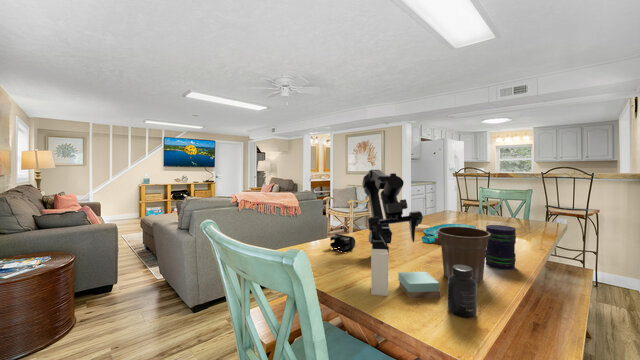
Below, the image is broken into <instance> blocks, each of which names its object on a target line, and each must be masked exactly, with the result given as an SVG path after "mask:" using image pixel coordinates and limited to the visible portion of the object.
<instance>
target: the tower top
mask: <svg viewBox="0 0 640 360" xmlns="http://www.w3.org/2000/svg"><path fill="white" fill-rule="evenodd" d="M397 277H398V281H400V282H401V284H402V285H403V286H404V287H405V288H406V289H407V290H408V291H409V292H432V291H440V282H439V281H438V280H436V279H435V278H434V277H433V276H432V275H430V274H429V273H428V272H427V271H405V272H404V271H403V272H401V271H399V272H398V276H397Z"/></svg>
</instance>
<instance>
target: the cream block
mask: <svg viewBox="0 0 640 360" xmlns="http://www.w3.org/2000/svg"><path fill="white" fill-rule="evenodd" d="M370 251H371V252H370V254H371V255H370V256H371V257H370V262H371V264H370V270H371V271H370V273H371V274H370V275H371V276H370V277H371V279H370V280H371V282H370V284H371V285H370V287H371V288H370V289H371V290H370V292H371V293H370V295H371V296H382V297H383V296H386V297H388V296H389V256H388V250H385V249H372V248H371V249H370Z"/></svg>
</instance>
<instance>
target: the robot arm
mask: <svg viewBox="0 0 640 360" xmlns="http://www.w3.org/2000/svg"><path fill="white" fill-rule="evenodd" d="M361 182H362V183H361V184H362V188H363V191H364V194H366V195H367V196H368V200H369V204H370V205H369V206H370V211H371V216H369V217H368V218H367V226H368V230H369V233H368V242H369V243H370V245H371V249H385V250H388V257H389V256H390V255H389V252H390V247H389V245H390V244H392V243H391V242H392V235H393V232H392V230H391V229H392V228H390V224H400V223H405V222H408V224H409V232H410V237H411V241H412V243H415V237H416V228H417V227H418V226H419V225H421V224H422V221H423V219H424V216H423V213H422V212H421V211H420V210H415V211H409V214H408V215H405V216H403V213H404V212H403V210H406V209H408V202H407V199H400V200H399V201H398V196H400V192H401V191H402V188H403V187H404V183H405V182H404V180H403V179H402V178H401V177H400V176H398V175H397V173H395V172H393V173H392V172H391V173H390V174H386V173H384V172H382V171H381V170H380V169H370V170H369V171H368V172H367V174H365V175H364V176H363V179H362V181H361ZM380 190H381V191H380ZM379 193H380V195H379ZM380 199H381V200H380ZM381 203H382V204H381ZM382 209H383V210H382ZM383 213H384V214H383ZM384 217H385V218H384ZM388 244H389V245H388Z"/></svg>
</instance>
